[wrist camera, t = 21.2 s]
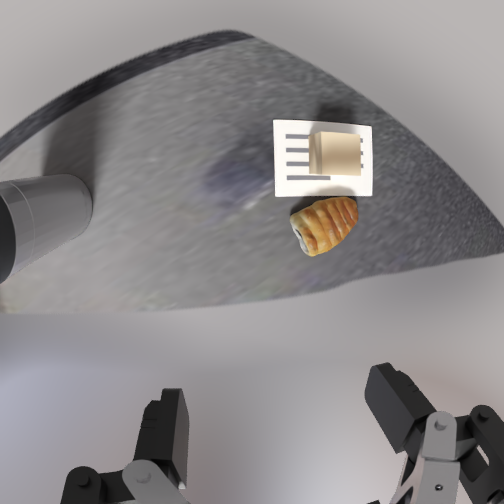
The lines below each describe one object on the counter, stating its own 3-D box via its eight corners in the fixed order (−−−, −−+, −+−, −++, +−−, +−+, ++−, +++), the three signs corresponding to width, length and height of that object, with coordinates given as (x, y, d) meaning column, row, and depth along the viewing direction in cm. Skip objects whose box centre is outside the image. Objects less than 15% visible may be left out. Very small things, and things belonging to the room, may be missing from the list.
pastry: (342, 183, 37) (354, 185, 34) (361, 225, 39) (373, 231, 36) (283, 216, 38) (290, 222, 34) (306, 258, 40) (314, 267, 36)
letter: (275, 196, 37) (275, 196, 36) (273, 119, 34) (273, 119, 34) (371, 195, 38) (372, 196, 38) (370, 126, 35) (371, 126, 35)
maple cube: (308, 135, 35) (321, 131, 30) (343, 137, 35) (360, 134, 30) (309, 173, 36) (322, 174, 31) (344, 174, 37) (360, 175, 32)
